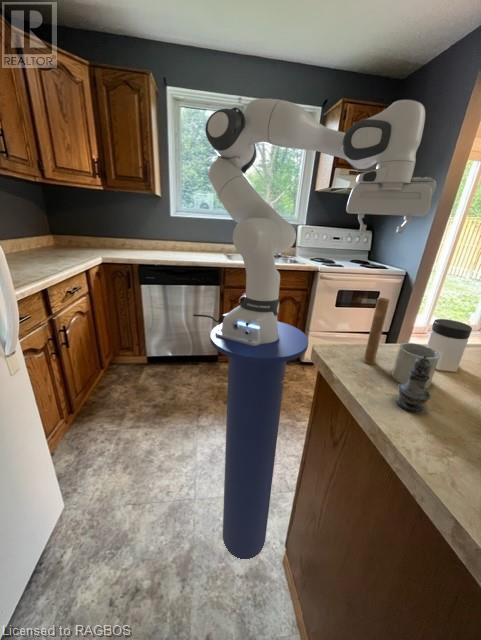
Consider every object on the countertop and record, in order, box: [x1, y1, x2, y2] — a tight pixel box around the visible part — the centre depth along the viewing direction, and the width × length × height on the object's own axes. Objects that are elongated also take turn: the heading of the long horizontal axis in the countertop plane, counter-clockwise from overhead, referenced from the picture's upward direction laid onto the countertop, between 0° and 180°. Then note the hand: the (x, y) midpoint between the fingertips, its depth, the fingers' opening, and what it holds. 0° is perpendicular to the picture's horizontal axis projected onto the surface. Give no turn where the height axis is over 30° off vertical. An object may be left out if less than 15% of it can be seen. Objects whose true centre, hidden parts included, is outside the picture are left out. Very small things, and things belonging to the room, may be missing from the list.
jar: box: [426, 318, 473, 373], centre depth 73 cm, size 9×8×12 cm
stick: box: [363, 297, 391, 365], centre depth 72 cm, size 3×3×18 cm
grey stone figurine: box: [395, 355, 432, 414], centre depth 55 cm, size 6×6×12 cm
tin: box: [391, 342, 440, 389], centre depth 66 cm, size 8×8×8 cm
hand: (380, 232), depth 76 cm, fingers open, 8 cm apart
